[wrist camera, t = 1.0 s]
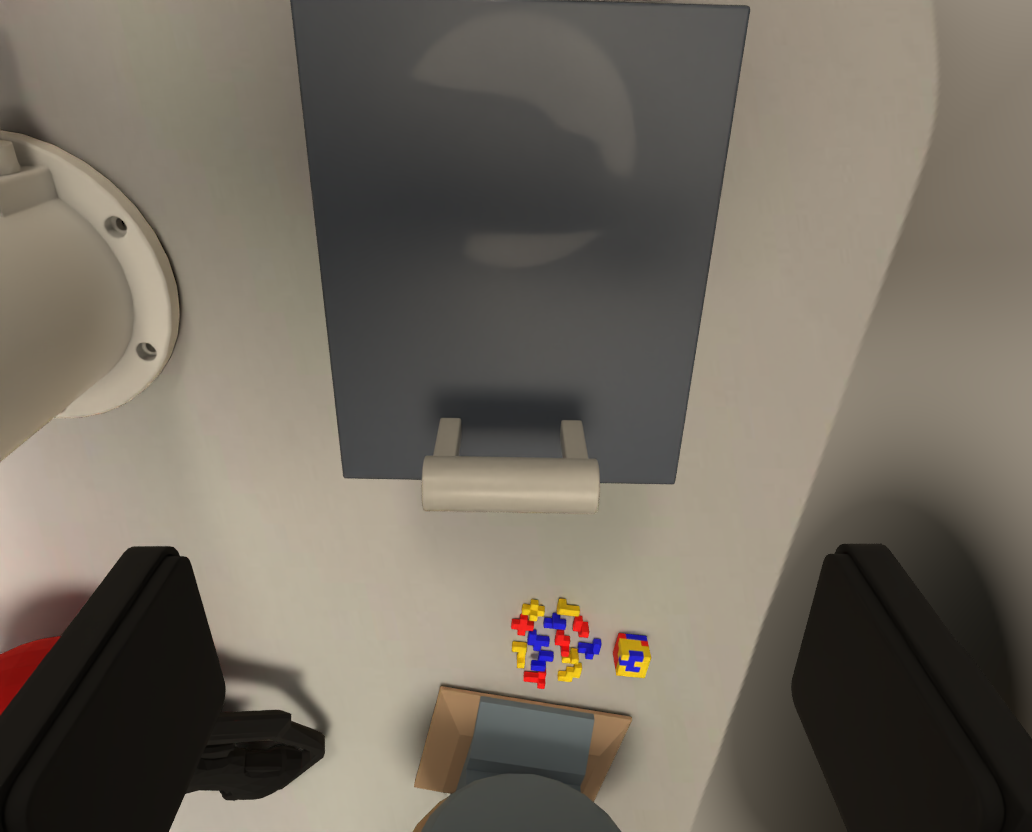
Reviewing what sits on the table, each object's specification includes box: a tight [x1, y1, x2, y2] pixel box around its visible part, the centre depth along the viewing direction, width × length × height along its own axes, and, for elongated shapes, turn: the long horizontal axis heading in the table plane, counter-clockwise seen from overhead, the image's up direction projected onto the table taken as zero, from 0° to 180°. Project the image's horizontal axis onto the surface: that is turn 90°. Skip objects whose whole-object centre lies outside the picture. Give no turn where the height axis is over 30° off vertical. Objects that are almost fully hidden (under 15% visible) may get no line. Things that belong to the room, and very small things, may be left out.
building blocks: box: [511, 599, 651, 689], centre depth 41 cm, size 6×8×2 cm
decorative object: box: [0, 636, 325, 801], centre depth 40 cm, size 12×16×20 cm
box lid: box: [290, 0, 750, 514], centre depth 19 cm, size 14×12×5 cm
